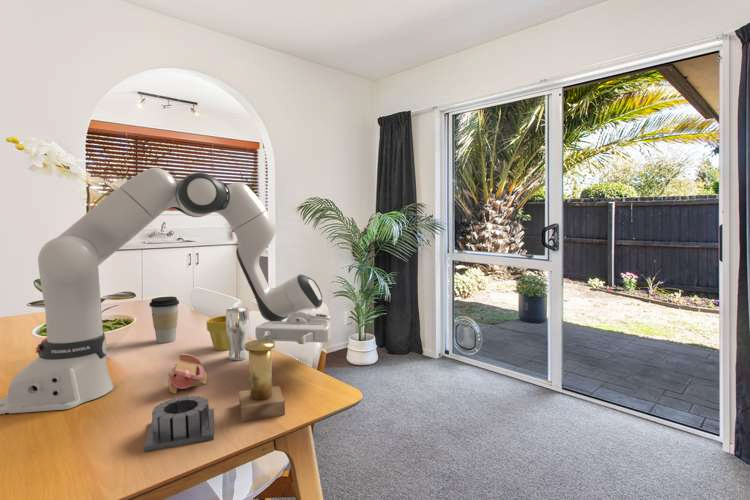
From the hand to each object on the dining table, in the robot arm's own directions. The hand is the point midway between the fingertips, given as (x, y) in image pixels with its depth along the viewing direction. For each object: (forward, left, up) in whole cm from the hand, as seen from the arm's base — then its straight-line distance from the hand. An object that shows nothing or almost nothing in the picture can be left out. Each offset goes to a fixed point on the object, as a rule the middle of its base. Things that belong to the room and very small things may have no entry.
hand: (282, 340), depth 106 cm
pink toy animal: (-22, +9, -12) cm, 27 cm away
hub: (-23, -14, -12) cm, 29 cm away
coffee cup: (-33, +57, -12) cm, 66 cm away
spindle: (-7, -10, -9) cm, 15 cm away
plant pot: (-14, +41, -12) cm, 45 cm away
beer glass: (-10, +29, -12) cm, 33 cm away
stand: (-7, -10, -12) cm, 17 cm away
